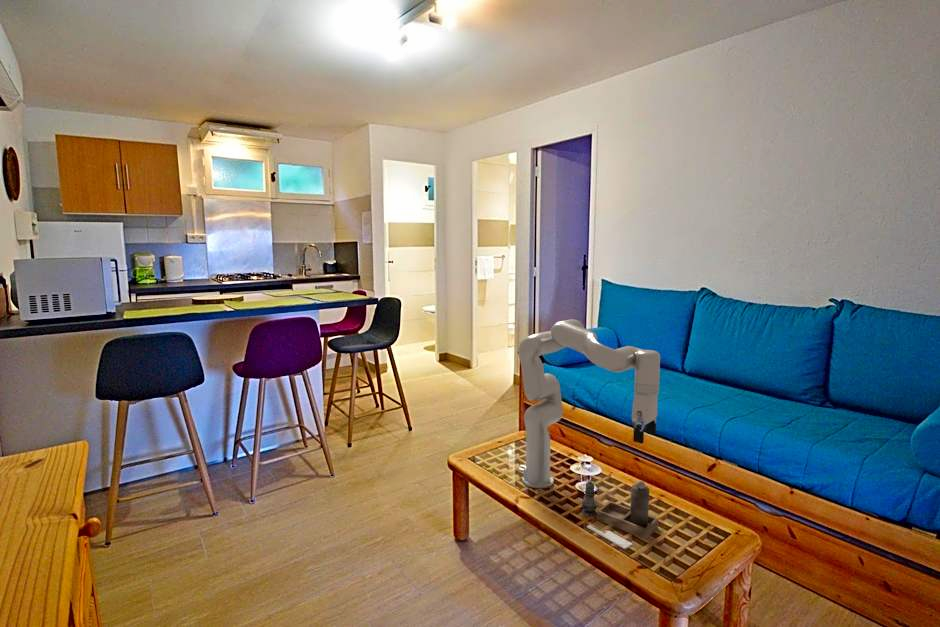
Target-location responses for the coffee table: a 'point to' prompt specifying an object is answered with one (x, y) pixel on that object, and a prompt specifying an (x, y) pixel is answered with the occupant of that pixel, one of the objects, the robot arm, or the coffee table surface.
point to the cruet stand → (631, 513)
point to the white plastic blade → (612, 537)
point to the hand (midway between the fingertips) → (644, 438)
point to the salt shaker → (589, 501)
